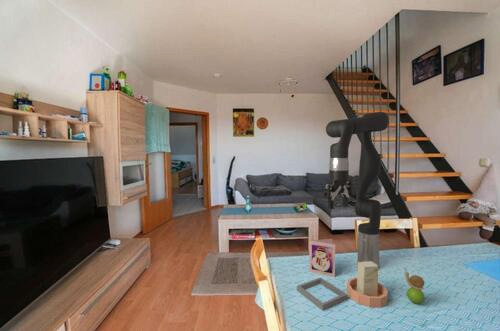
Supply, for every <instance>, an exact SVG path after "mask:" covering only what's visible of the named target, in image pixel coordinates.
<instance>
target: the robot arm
mask: <svg viewBox="0 0 500 331" xmlns="http://www.w3.org/2000/svg"><path fill="white" fill-rule="evenodd" d="M389 125H390V117H389V115H388V114H387V113H386V112H383V111H376V112H370V113H369V112H368V113H364V114H363V115H362V116H360V117H359V116H358V117H352V118H347V119H335V120H331V121H329V122H328V123H327V124H326V126H325V133H326V135H327V136H328V137H330V138H339V140H338V142H336V143H332V144H331V145H330V146H329V147H330V148H329V163H328V166H329V167H328V170H329V171H328V180H329V181H330V183H325V184H324V186H323V199H325V200H327V207H328V210H334V208H335V207H334V205H335V204H334V203H335V201H334V200H335V197H337V196H338V195H339V194H341V195H342V206H343V207H345V208H347V207H349V198H350V197H352V196H353V182H351V181H349V178H350V177H349V175H350V174H349V173H350V168H349V166H350V165H349V164H350V163H349V147H350V144H351V141H352V137H353V135H358V134H360V135H361V136H360V139H361V140H360V141H361V144H360V156H359V165H358V168H359V169H358V182H357V190H356V194H355V195H356V196H355V201H354V213H355V215H356V216H358V217H361V218H365V219H366V218H367V219H369V221H368V222H362V223H360V224H358V225H357V256H356V257H357V261H356V262H357V263H356V264H357V266H358V262H365V261H372V262H374V263H375V264H376V265H378V267H380V227H381V217H382V204H381V201H379V200H377V199H372V198H371V199H370V198H367V194H368V190H369V189H370V187H371V185H372V184H374V182H375V181H376V179H378V177H379V175H380V172H381V166H382V165H381V164H382V159H381V156H380V154H379V151H378V150H377V149H376V147H375V145H374V143H373V139H372V133H373V132H374V133H375V132H383V131H385V130H386V129H388V127H389Z"/></svg>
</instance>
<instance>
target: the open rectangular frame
mask: <svg viewBox="0 0 500 331" xmlns="http://www.w3.org/2000/svg"><path fill="white" fill-rule="evenodd" d="M318 285H322V286H324V287H325V288H326V289H328V290H329V291H331V292H332V293H334V294H335V295H337V296H336V297H333V298H331V299H328V300H326V301H324V302H322V301H321V300H319V299H318V298H317V297H316V296H314V295H313V294H312V293H310V292H309V291H307V289H310V288H312V287H316V286H318ZM296 292H298V293H299V294H301V295H302V296H303V297H304V298H306V299H307V300H308V301H310V302H311V303H312V304H314V305H315V306H316V307H317V308H318V309H320V311H322V312H323V311H325V310H327V309H329V308H332V307H334V306H336V305H339V304H341V303H344V302H346V301H348V297H349V295H348V294H347V292H345V291H343V290H341V289H340V288H338V287H337V286H335V285H334V284H332V283H330V282H328V281H327V280H325V278H322V277H318V278H315V279H313V280H309V281H307V282H304V283H301V284H298V285H296Z"/></svg>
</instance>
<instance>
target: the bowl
mask: <svg viewBox="0 0 500 331" xmlns="http://www.w3.org/2000/svg"><path fill="white" fill-rule="evenodd" d="M346 294H348V297H349V298H350V300H352V301H353V302H355V303H357V304H359V305H362V306H364V307H368V308H383V307H384V306H387V305H388V289H387V288H386V286H384V284H382V283H380V282H378V295H377V296H367V295H363V294H360V293H358V292H357V277H356V276H355V277H352V278H350V279H348V280H347V282H346Z"/></svg>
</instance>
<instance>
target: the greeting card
mask: <svg viewBox="0 0 500 331" xmlns="http://www.w3.org/2000/svg"><path fill="white" fill-rule="evenodd" d="M308 246H309V249H308V250H309V253H308V254H309V256H308V257H309V260H308V261H309V262H308V263H309V265H308V266H309V267H308V270H309V271H308V272H310V273H314V274H319V275H323V276H328V277H333V278H335V277H336V244H334V243H333V238H326V239H325V238H324V239H323V238H322V239H314V240H313V239H311V240H309V245H308Z"/></svg>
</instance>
